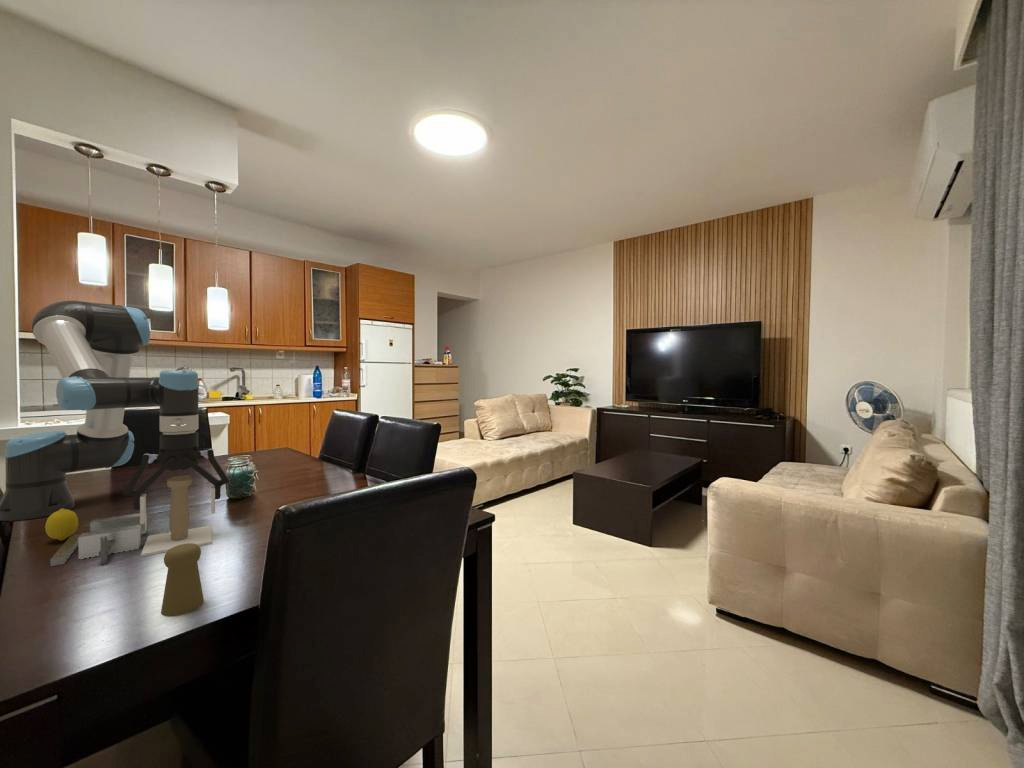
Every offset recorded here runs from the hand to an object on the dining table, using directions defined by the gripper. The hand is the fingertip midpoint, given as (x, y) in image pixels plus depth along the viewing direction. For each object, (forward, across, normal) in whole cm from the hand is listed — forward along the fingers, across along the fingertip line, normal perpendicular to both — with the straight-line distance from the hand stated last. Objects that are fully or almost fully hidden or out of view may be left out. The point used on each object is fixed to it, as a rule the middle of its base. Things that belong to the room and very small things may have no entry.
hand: (179, 517), depth 102 cm
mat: (+6, 0, 0) cm, 6 cm away
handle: (+6, 0, 0) cm, 6 cm away
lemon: (+6, -24, +16) cm, 29 cm away
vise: (+7, -14, +3) cm, 16 cm away
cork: (+6, +2, -37) cm, 38 cm away
